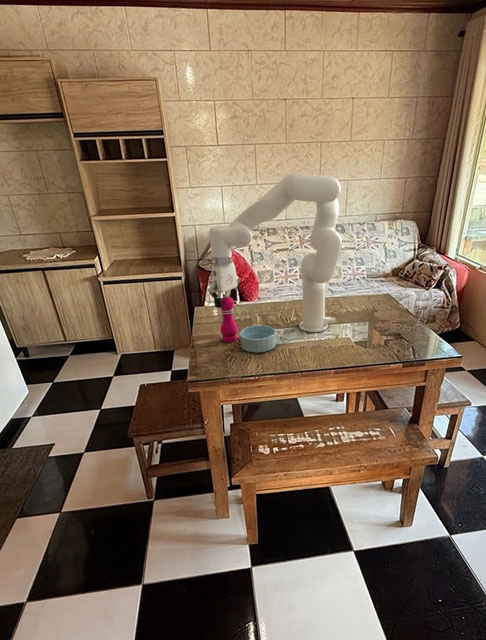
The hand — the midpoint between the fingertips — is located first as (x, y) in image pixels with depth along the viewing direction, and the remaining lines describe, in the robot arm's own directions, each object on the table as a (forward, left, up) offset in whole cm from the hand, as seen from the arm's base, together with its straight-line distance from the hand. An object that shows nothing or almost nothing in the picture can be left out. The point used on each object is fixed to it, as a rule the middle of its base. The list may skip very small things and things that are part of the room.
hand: (226, 303), depth 163 cm
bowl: (-11, +9, -16) cm, 21 cm away
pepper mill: (0, 0, -16) cm, 16 cm away
